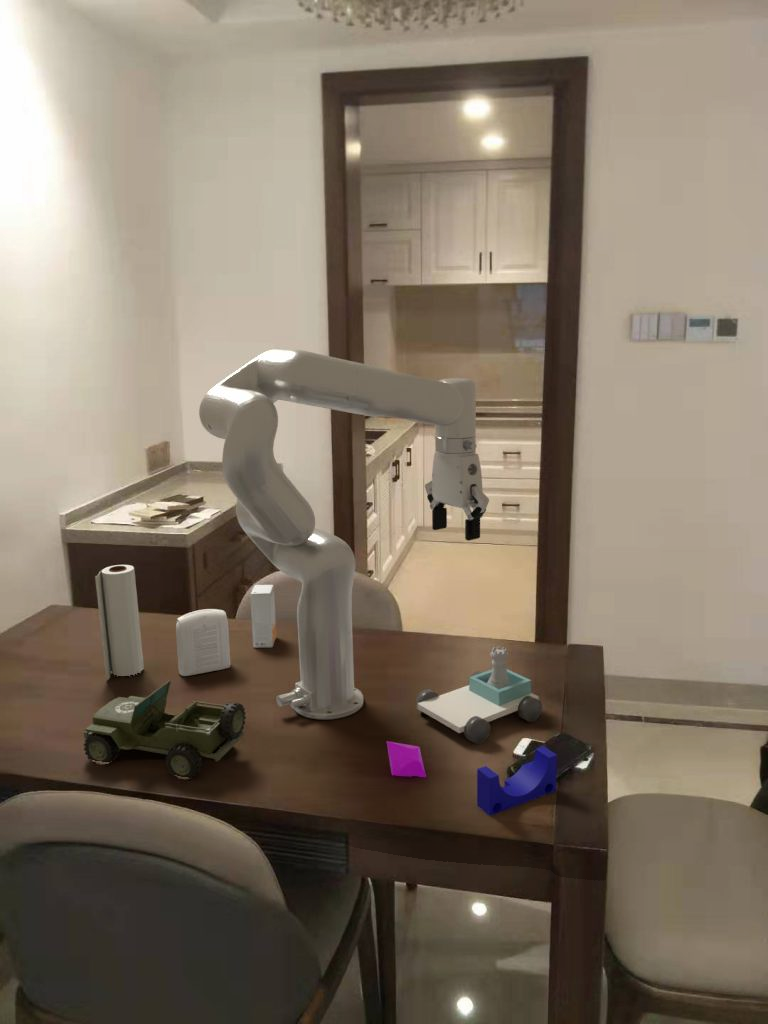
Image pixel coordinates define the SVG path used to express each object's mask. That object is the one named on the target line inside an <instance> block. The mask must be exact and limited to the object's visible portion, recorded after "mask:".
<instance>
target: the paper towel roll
mask: <svg viewBox="0 0 768 1024" xmlns="http://www.w3.org/2000/svg"><path fill="white" fill-rule="evenodd" d="M135 573H136V572H135V566H133V565H130V564H116V565H110V566H107V567H105V568H103V569H101V570H100V571H99V572H98V574H97V575H95V577H94V578H95V587H96V598H97V599H96V600H97V605H98V606H97V607H98V614H99V615H98V617H99V625H100V626H99V627H100V636H101V643H102V644H101V645H102V652H103V661H104V671H105V672H104V673H105V680H106V679H107V678H108V677H109V676H110V677H111V675H110V673H111V671H112V673H111V674H114V675H113V676H115V675H117V676H116V677H118V676H129V677H131V676H130V675H133V676H136V675H138V674H137V673H139V674H141V673H142V672H143V671H144V668H145V667H144V657H143V655H144V654H143V648H142V647H143V646H142V635H141V625H140V623H141V622H140V616H139V615H140V614H139V605H138V604H139V603H138V593H137V585H136V574H135ZM142 670H143V671H142ZM141 671H142V672H141ZM135 674H136V675H135ZM110 677H109V678H110ZM107 680H108V679H107Z"/></svg>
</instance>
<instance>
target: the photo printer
mask: <svg viewBox="0 0 768 1024" xmlns="http://www.w3.org/2000/svg"><path fill="white" fill-rule="evenodd" d="M175 623H176V624H175V625H176V626H175V635H176V650H177V661H178V662H177V663H178V673H179V675H181V676H182V677H188V676H195V675H199V674H205V673H210V672H214V671H220V670H225V669H229V668H230V667H231V653H230V652H231V651H230V650H231V649H230V634H229V633H230V632H229V620H228V616H227V613H226V611H225V610H222V609H217V608H205V609H198V610H195V611H192V612H191V611H190V612H188V613H184V614H183V615H181V616H180V617H179V616H178V618H176V622H175Z"/></svg>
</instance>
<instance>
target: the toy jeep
mask: <svg viewBox="0 0 768 1024" xmlns="http://www.w3.org/2000/svg"><path fill="white" fill-rule="evenodd" d="M171 682H172V679H169V680H167V681H166V682H165V683H164V684H163V683H162V685H161V686H160V687H158V688H156V690H154V691H152V693H150V694H148V696H146V697H140V696H135V695H130V696H128V697H122V696H117V698H116V697H115V698H113V699H112V700H111V701H109V702H107V703H106V704H105V705H103V706H102V707H100V708H99V709H98V711H96V712H95V714H94V715H93V716H92V723H91V724H90V725H89V726H87V727H86V728H85V729H84V731H83V736H84V737H83V739H84V743H83V746H84V747H83V750H84V751H85V752H84V753H85V756H87V759H88V760H90V761H92V760H95V761H102V762H111V761H112V762H114V761H115V760H116V758H117V757H118V755H119V754H120V750H127V751H129V750H140V751H145V752H151V753H157V754H162V755H166V756H165V765H166V769H167V770H169V774H171V775H172V776H173V775H177V776H181V777H188V778H192V779H194V778H195V777H196V776H197V775H198V774H199V773H200V772H201V769H202V766H203V761H202V759H203V758H208V759H214V761H215V762H219V760H221V759H222V757H224V756H225V755H226V754H227V753H228V752H229V751H230V750H231V749H232V748H233V747H234V746H235V745H236V744H237V743H238V742H239V741H240V740H241V739H242V738H243V737H244V736H245V735H244V728H245V726H244V725H245V724H246V721H245V720H247V719H246V718H247V717H246V712H247V711H245V709H246V708H245V707H244V705H243V704H241V703H239V702H234V701H233V702H228V703H225V704H218V703H210V702H204V701H198V700H196V699H195V700H191V703H190V704H189V705H188V706H186V708H185V709H184V711H183V710H182V711H180V712H179V713H178V714H174V713H173V714H171V713H167V712H165V711H166V706H167V698H168V693H169V690H170V686H171ZM208 705H209V706H208ZM217 747H221V748H220V749H219V748H217ZM216 749H218V750H217V751H216V752H215V753H213V752H214V751H215V750H216ZM202 757H203V758H202ZM114 759H115V760H114ZM113 760H114V761H113ZM112 762H111V763H112ZM193 777H194V778H193Z"/></svg>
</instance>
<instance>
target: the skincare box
mask: <svg viewBox="0 0 768 1024" xmlns="http://www.w3.org/2000/svg"><path fill="white" fill-rule="evenodd" d="M274 587H275V586H274V584H255V585H253V588H252V589H251V592H250V595H249V598H250V599H249V600H250V614H251V633H252V648H255V649H256V648H257V649H258V648H260V649H261V648H273V647H274V644H275V641H276V639H277V627H276V626H277V623H276V608H275V607H276V602H275V589H274Z"/></svg>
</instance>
